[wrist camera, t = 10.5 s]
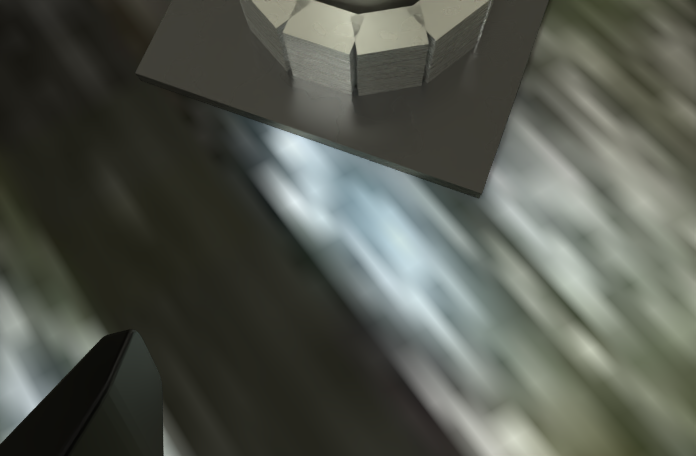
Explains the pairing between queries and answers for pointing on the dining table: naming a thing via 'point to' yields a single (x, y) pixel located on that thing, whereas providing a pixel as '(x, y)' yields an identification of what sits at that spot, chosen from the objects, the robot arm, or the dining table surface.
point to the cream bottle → (368, 5)
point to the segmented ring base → (359, 75)
